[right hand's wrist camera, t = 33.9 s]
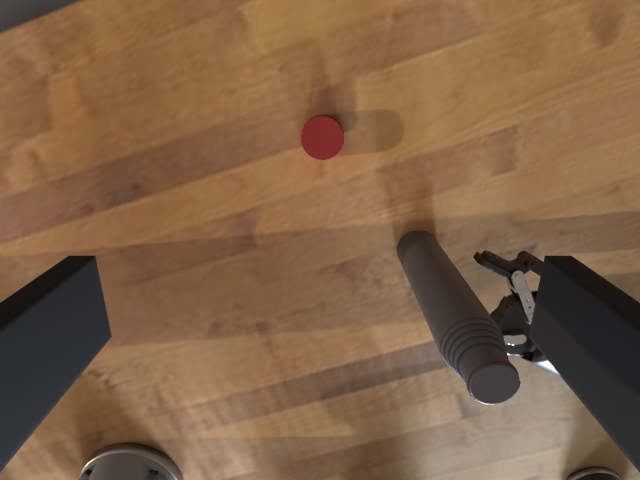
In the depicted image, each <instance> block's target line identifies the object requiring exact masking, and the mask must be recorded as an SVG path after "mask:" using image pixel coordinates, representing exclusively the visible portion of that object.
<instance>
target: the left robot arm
mask: <svg viewBox="0 0 640 480" xmlns="http://www.w3.org/2000/svg"><path fill="white" fill-rule="evenodd" d="M473 258H474V259H475V260H476V261H477V262H478V263H479V264H480V265H482V266H484V267H486V268H488V269H490V270H492V271H494V272H495V273H497V274H499V275H501V276H503V277H505V278H507V284H508V287H509V290H510V292H511V295H509V296H507V297H505V296H504V297H503V299H502V300H501V301H500V304H499V306H498V308H497V309H495V310H494V311H493V312H492V313H491V314H490V316H491V317H492V318H493V320H494V321H495V323H496V324H497V325H498V327H499V328H500V330H501V332H502V334H503V337H504V340H505V345H506V350H507V355H510V356H511V355H515V356H519V357H521V358H523V359H525V360H527V361H529V362H531V363H533V364H535V365H537V366H539V367H541V368H543V369H545V370H547V371H550V372H552V373H554V374H556V375H558V376H560V374H559V373H558V372H557V371H556V370H555V368H554V367H553V366H552V365H551V364H550V362H549V361H548V360H547V359H546V357H545V356H544V355H543V354H542V353H541V351H540V350H539V349H538V348H537V346H536V345H535V344H534V343H533V342H532V340H531V339H530V338H529V337H528V336H529V331H530V327H531V322H532V317H533V312H534V307H535V302H536V297H537V292H538V291H530V289H529V288H528V286H527V283H526V280H525V277H524V274H525V273H526V272H528V271H529V270H531V271H533V272H535V273H536V274H538V275H540V276H541V273H542V268H543V263H544V262H543V261H541V260H539V259H538V258H536V257H535V256H533V255H531V254H530V253H528V252H526V251H521V252H520V253H519V254H518V257H517V258H516V259H514V260H513V261H507V260H505V259H503V258H501V257H499V256H497V255H495V254H493V253H491V252H489V251H484V252H483V253H482V254H481V253H479V252H476V254H475V255H474V257H473ZM560 377H561V376H560ZM567 480H621V479H620V477H619V476H618V475H617V474H616V473H615V472H613V471H612V470H609V469H606V468H599V467H598V468H588V469H584V470H581V471H579V472H577V473H575V474H573V475H571V476H570V477H569V478H568V479H567Z"/></svg>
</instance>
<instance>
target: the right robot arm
mask: <svg viewBox="0 0 640 480" xmlns="http://www.w3.org/2000/svg"><path fill="white" fill-rule="evenodd" d="M111 337H112V336H111V331H110V327H109V322H108V317H107V312H106V307H105V302H104V297H103V292H102V287H101V282H100V278H99V273H98V268H97V263H96V258H95V256H68V257H66V258H65V259H63V260H62V261H61V262H59V263H58V264H56V265H55V266H53V267H52V268H50V269H49V270H47V271H46V272H45V273H43V274H42V275H40V276H39V277H37V278H36V279H34V280H33V281H32V282H30V283H29V284H27V285H26V286H24V287H23V288H21V289H20V290H18V291H17V292H16V293H14V294H13V295H11V296H10V297H8V298H7V299H5V300H4V301H2V302H1V303H0V472H1V471H2V469H3V468H4V467H5V466H6V465H7V463H8V462H9V461H10V460H11V459H12V457H13V456H14V455H15V454H16V452H17V451H18V450H19V449H20V448H21V446H22V445H23V444H24V443H25V441H26V440H27V439H28V438H29V437H30V435H31V434H32V433H33V432H34V431H35V429H36V428H37V427H38V426H39V424H40V423H41V422H42V421H43V420H44V418H45V417H46V416H47V415H48V413H49V412H50V411H51V410H52V409H53V407H54V406H55V405H56V404H57V402H58V401H59V400H60V399H61V398H62V396H63V395H64V394H65V393H66V392H67V390H68V389H69V388H70V387H71V385H72V384H73V383H74V382H75V381H76V379H77V378H78V377H79V376H80V374H81V373H82V372H83V371H84V370H85V368H86V367H87V366H88V365H89V364H90V362H91V361H92V360H93V359H94V357H95V356H96V355H97V354H98V353H99V351H100V350H101V349H102V348H103V346H104V345H105V344H106V343H107V342H108V340H109V339H110V338H111ZM528 337H529V338H530V339H531V340H532V342H533V343H534V344H535V345H536V346H537V348H538V349H539V350H540V351H541V353H542V354H543V355H544V356H545V357H546V359H547V360H548V361H549V362H550V364H551V365H552V366H553V367H554V368H555V370H556V371H557V372H558V373H559V374H560V376H561V377H562V378H563V379H564V381H565V382H566V383H567V384H568V385H569V387H570V388H571V389H572V390H573V392H574V393H575V394H576V395H577V396H578V398H579V399H580V400H581V401H582V402H583V404H584V405H585V406H586V407H587V409H588V410H589V411H590V412H591V413H592V415H593V416H594V417H595V418H596V420H597V421H598V422H599V423H600V424H601V426H602V427H603V428H604V429H605V431H606V432H607V433H608V434H609V435H610V437H611V438H612V439H613V440H614V441H615V443H616V444H617V445H618V446H619V448H620V449H621V450H622V451H623V452H624V454H625V455H626V456H627V457H628V459H629V460H630V461H631V462H632V463H633V465H634V466H635V467H636V468H637V469H638V471H639V472H640V303H639V302H638V301H636V300H635V299H633V298H632V297H630V296H629V295H627V294H626V293H624V292H623V291H622V290H620V289H619V288H617V287H616V286H614V285H613V284H611V283H610V282H608V281H607V280H606V279H604V278H603V277H601V276H600V275H598V274H597V273H595V272H594V271H593V270H591V269H590V268H588V267H587V266H585V265H584V264H582V263H581V262H579V261H578V260H577V259H575V258H574V257H572V256H545V258H544V263H543V268H542V273H541V278H540V282H539V287H538V292H537V297H536V302H535V307H534V312H533V317H532V322H531V327H530V331H529V336H528ZM79 480H183V477H182V474H181V472H180V470H179V469H178V467H177V466H176V465H175V463H174V462H173V461H172V460H171V459H169V458H168V457H167V456H165V455H164V454H162V453H161V452H159V451H157V450H155V449H152V448H150V447H147V446H143V445H138V444H126V443H125V444H115V445H111V446H107V447H105V448H102V449H101V450H99V451H97V452H96V453H95V454H93V455H92V456H91V458H90V459H89V460H88V462H87V464H86V465H85V467H84V468H83V470H82V472H81V474H80V477H79Z"/></svg>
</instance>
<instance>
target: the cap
mask: <svg viewBox="0 0 640 480" xmlns="http://www.w3.org/2000/svg"><path fill="white" fill-rule="evenodd" d="M343 141H344V135H343V131H342V127H341V126H340V125H339V123H338V122H337V121H336V119H333V118H332V117H329V116H327V115H326V116H325V115H320V116H316V117H313V118H311V119H310V120H309V121H307V123H306V124H305V125H304V128H303V129H302V134H301V142H302V146H303V148H304V150H305V151H306V152H307V153H308V154H309V155H310V156H311V157H313V158H315V159H319V160H326V159H330V158H332V157H334V156H335V155H336V154H337V153H338V152H339V151H340V150H341V148H342V145H343Z"/></svg>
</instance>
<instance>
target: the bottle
mask: <svg viewBox="0 0 640 480" xmlns="http://www.w3.org/2000/svg"><path fill="white" fill-rule="evenodd" d="M397 254H398V258H399V260H400V262H401V264H402V267H403V269H404V271H405V273H406V276H407V278H408V280H409V283H410V285H411V287H412V289H413V292H414V294H415V296H416V299H417V301H418V303H419V305H420V308H421V310H422V312H423V314H424V317H425V319H426V321H427V324H428V326H429V328H430V330H431V333H432V335H433V337H434V340H435V342H436V344H437V346H438V349H439V351H440V353H441V355H442V357H443V359H444V360H445V361H446V363H447V364H448V365H449V366H450V367H451V368H452V369H453V370H454V371H455V372H456V373H457V374H458V375H459V376H460V377H461V378H463V379H464V380H465V382H466V384H467V389H468V391H469V393H470V395H471V396H472V397H473V398H474V399H475V400H477V401H479V402H481V403H484V404H498V403H502V402H504V401H506V400H508V399H509V398H511V397H512V396H513V395H514V394H515V393H516V392H517V390H518V388H519V386H520V381H519V376H518V372H517V370H516V368H515V367H514V366H513V365H512V364H511V363H510V362H509V360H508V355H507V350H506V345H505V340H504V337H503V334H502V332H501V330H500V328H499V327H498V325H497V324H496V323H495V321H494V320H493V318H492V317H491V316H490V314H489V313H488V311H487V310H486V309H485V307H484V306H483V305H482V303H481V302H480V300H479V299H478V298H477V296H476V295H475V294H474V292H473V291H472V289H471V288H470V287H469V285H468V284H467V282H466V281H465V280H464V278H463V277H462V276H461V274H460V273H459V271H458V270H457V269H456V267H455V266H454V264H453V263H452V262H451V260H450V259H449V258H448V256H447V255H446V253H445V252H444V251H443V249H442V248H441V246H440V245H439V244H438V242H437V241H436V240H435V238H434V237H433V236H432V235H431V234H429V233H428V232H425V231H413V232H410V233H408V234H406V235H405V236H404V237H403V238H402V239H401V240H400V242H399V244H398V247H397Z"/></svg>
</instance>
